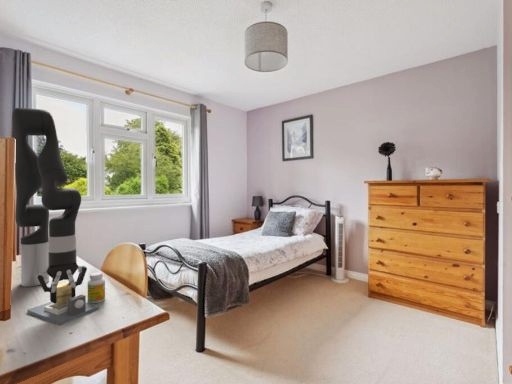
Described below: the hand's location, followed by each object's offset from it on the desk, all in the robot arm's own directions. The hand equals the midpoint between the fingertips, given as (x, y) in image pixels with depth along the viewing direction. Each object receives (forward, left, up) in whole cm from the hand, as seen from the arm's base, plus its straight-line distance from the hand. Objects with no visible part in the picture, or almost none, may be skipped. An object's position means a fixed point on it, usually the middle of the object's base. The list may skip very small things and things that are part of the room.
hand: (63, 300), depth 90 cm
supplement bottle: (+2, +10, -4) cm, 11 cm away
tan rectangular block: (0, 0, -1) cm, 1 cm away
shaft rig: (0, 0, -4) cm, 4 cm away
